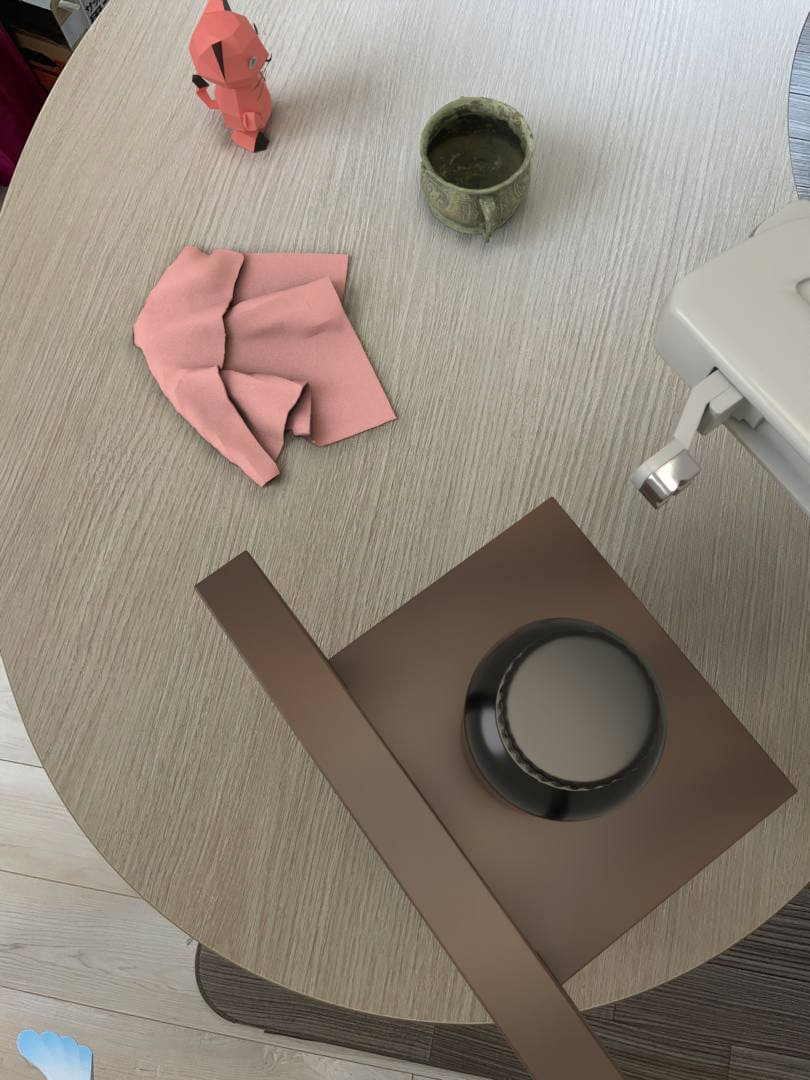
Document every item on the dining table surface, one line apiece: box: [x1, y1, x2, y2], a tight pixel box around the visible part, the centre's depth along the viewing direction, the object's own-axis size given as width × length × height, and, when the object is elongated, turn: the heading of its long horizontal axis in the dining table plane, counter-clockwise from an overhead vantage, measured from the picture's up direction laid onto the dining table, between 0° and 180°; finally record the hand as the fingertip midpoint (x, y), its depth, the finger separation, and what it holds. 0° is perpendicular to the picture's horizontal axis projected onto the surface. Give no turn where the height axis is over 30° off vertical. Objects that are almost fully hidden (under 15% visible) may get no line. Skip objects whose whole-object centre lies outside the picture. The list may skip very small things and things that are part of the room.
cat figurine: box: [188, 0, 273, 154], centre depth 74 cm, size 7×7×12 cm
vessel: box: [419, 95, 535, 244], centre depth 74 cm, size 12×9×6 cm
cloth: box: [131, 245, 397, 488], centre depth 72 cm, size 20×22×2 cm
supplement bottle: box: [461, 618, 667, 822], centre depth 34 cm, size 7×7×12 cm
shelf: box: [193, 496, 798, 1080], centre depth 43 cm, size 16×14×44 cm
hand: (734, 592), depth 33 cm, fingers open, 8 cm apart
